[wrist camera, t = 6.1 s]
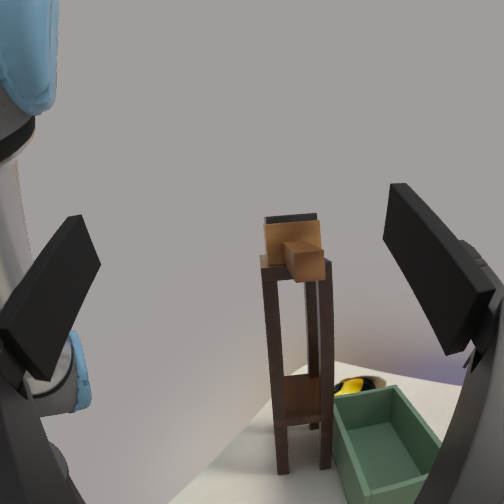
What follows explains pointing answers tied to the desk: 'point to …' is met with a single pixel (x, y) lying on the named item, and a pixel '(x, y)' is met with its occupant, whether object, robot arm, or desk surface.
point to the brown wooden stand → (319, 364)
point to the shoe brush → (295, 245)
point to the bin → (381, 446)
